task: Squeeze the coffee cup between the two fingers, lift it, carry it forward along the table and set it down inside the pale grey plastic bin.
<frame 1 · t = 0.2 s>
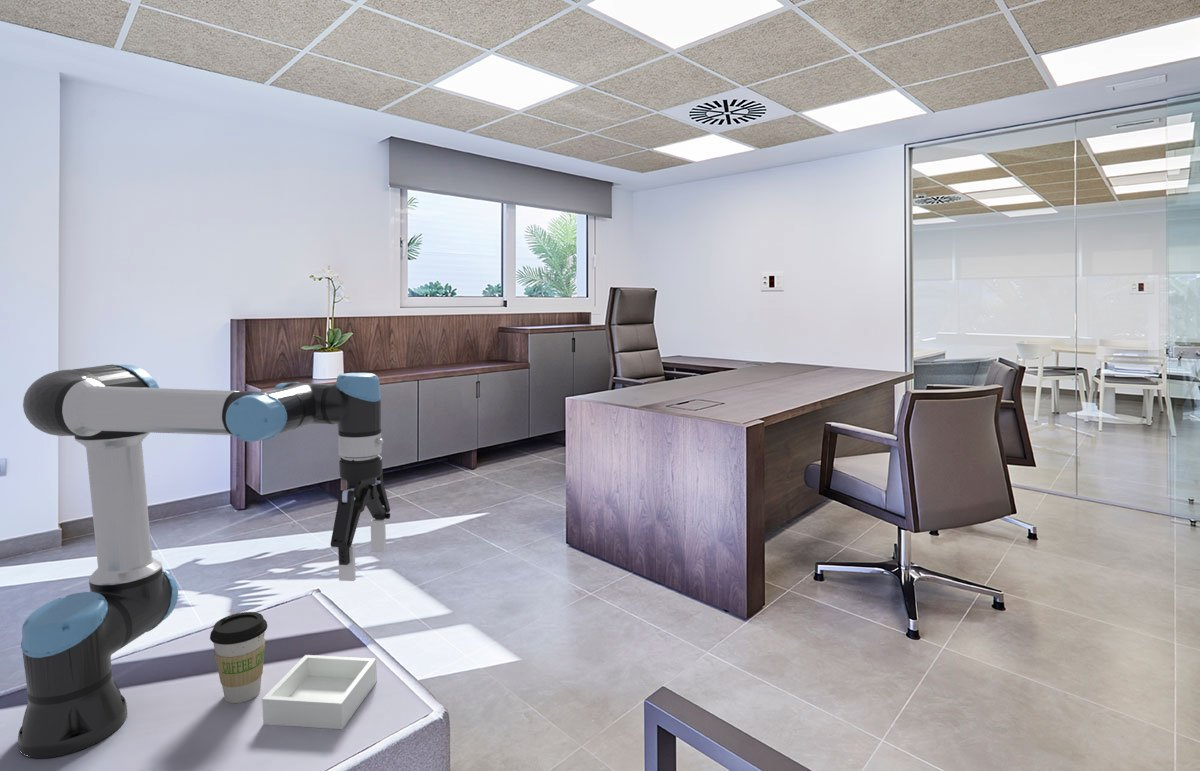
hand: (363, 565, 121), 28 cm above the table, fingers open, 13 cm apart
coffee cup: (242, 694, 126), on the table
bin: (323, 701, 124), on the table
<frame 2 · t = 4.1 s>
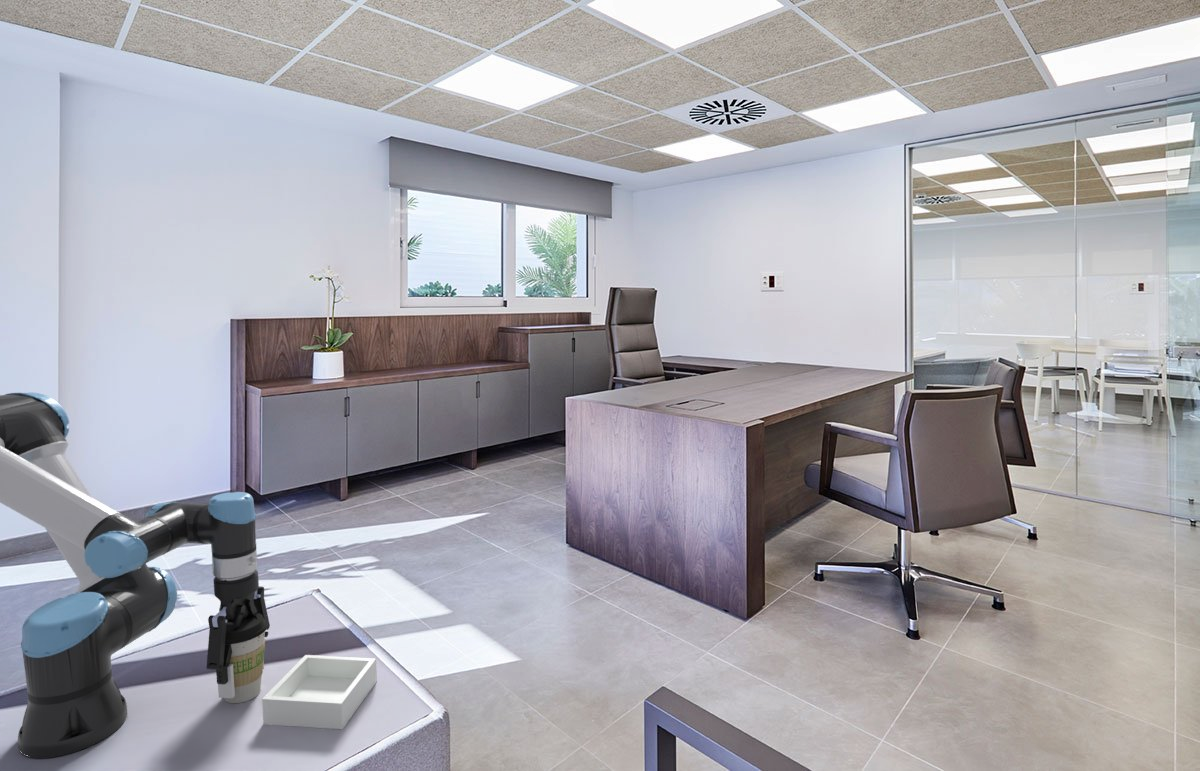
hand: (242, 682, 126), 2 cm above the table, fingers closed on coffee cup, 9 cm apart
coffee cup: (242, 694, 126), on the table, touching gripper
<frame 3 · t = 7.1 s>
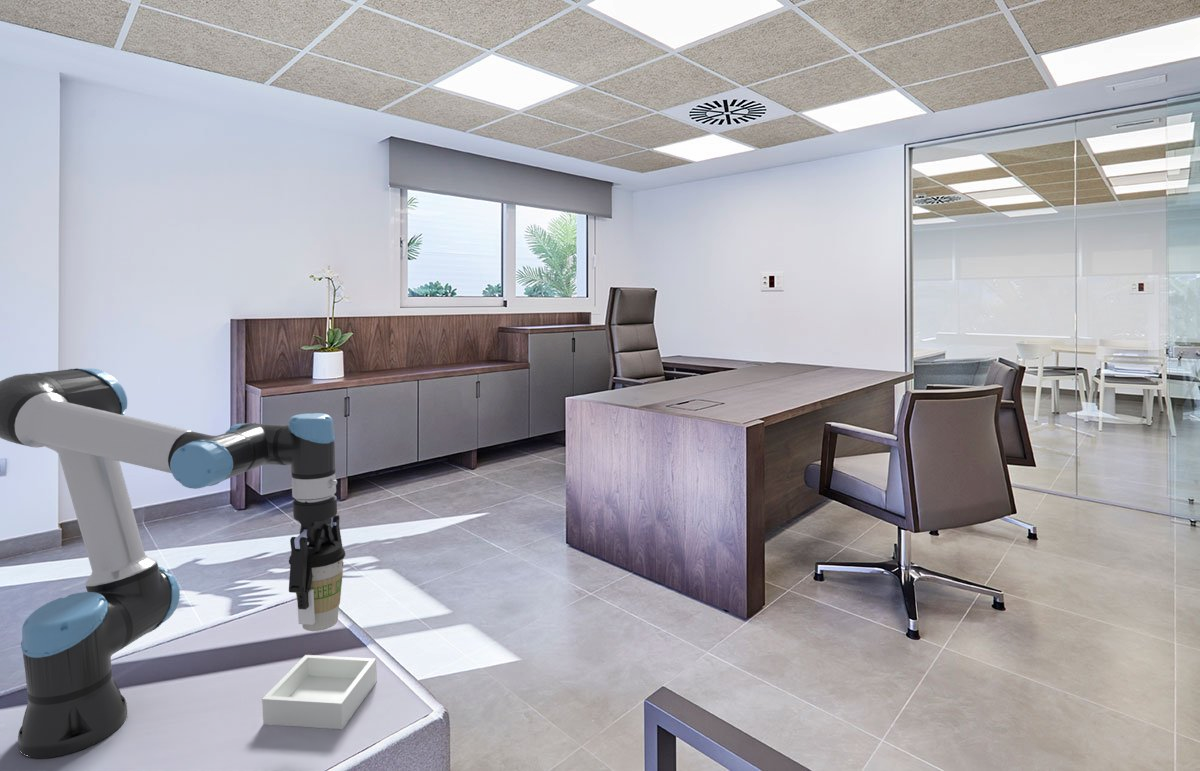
hand: (319, 611, 122), 19 cm above the table, fingers closed on coffee cup, 9 cm apart
coffee cup: (320, 624, 122), point 16 cm above the table, touching gripper
when the fingers open (5 cm above the table, at t = 10.3 s): coffee cup moves 2 cm, point 1 cm above the table.
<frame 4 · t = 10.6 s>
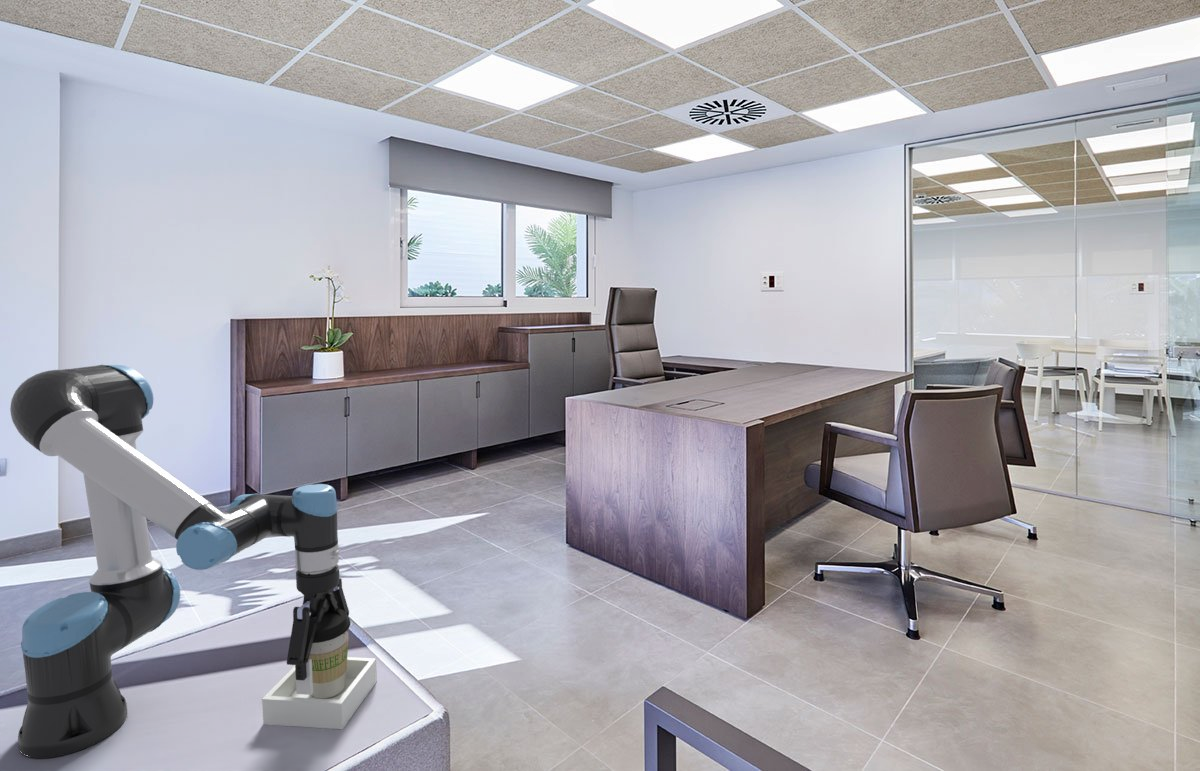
hand: (321, 674, 123), 6 cm above the table, fingers open, 12 cm apart
coffee cup: (328, 688, 126), point 1 cm above the table, touching gripper
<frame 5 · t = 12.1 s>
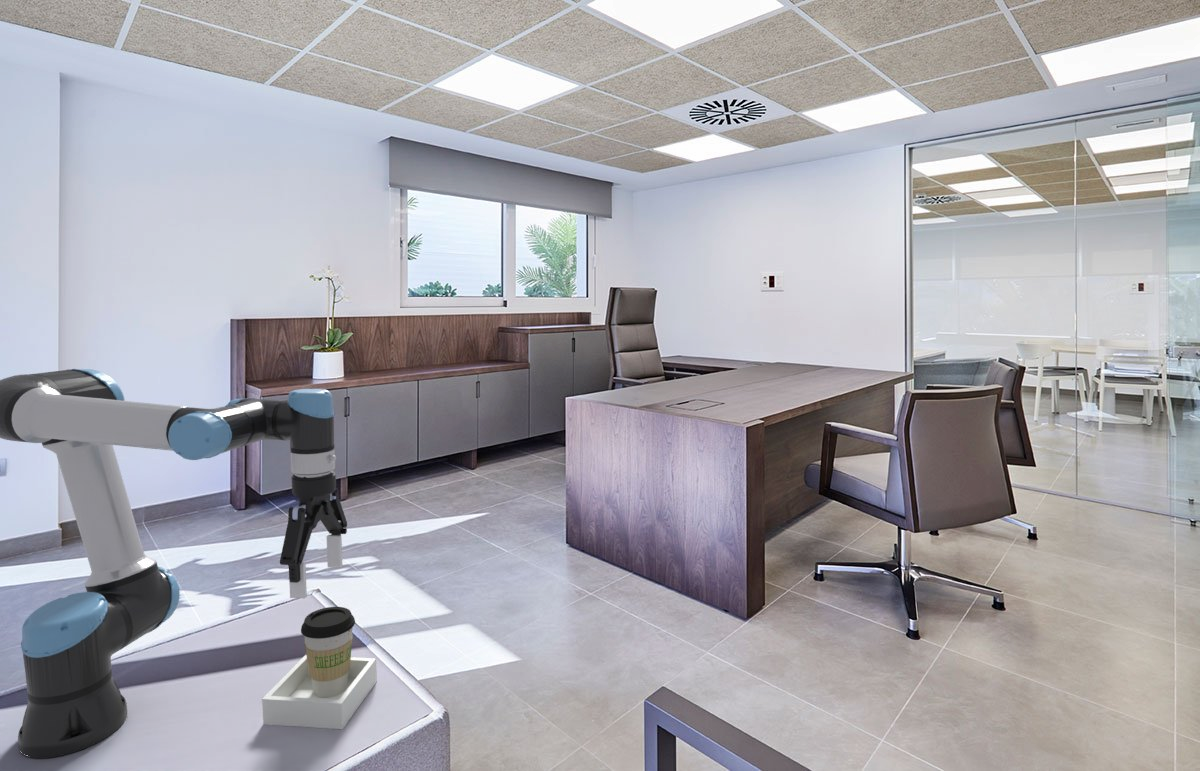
hand: (317, 581, 121), 25 cm above the table, fingers open, 13 cm apart
coffee cup: (330, 689, 127), point 1 cm above the table, touching bin
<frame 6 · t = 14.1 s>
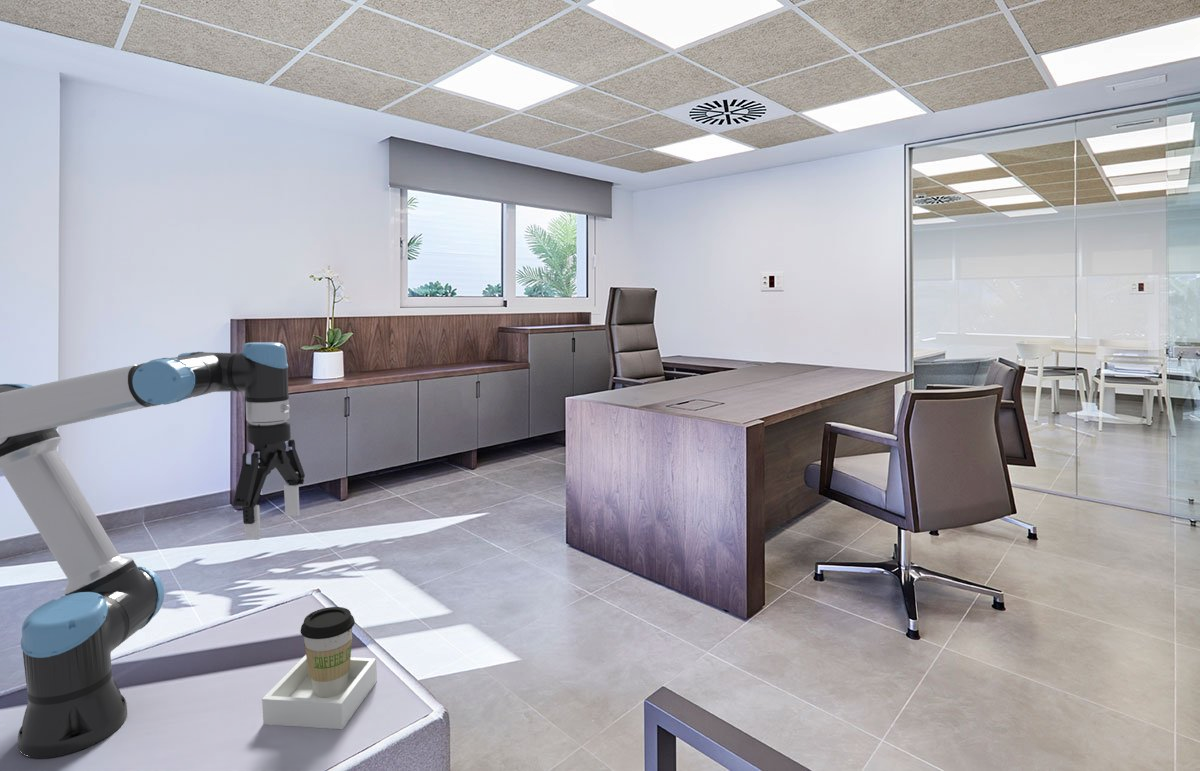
hand: (273, 526, 127), 33 cm above the table, fingers open, 13 cm apart
nothing on the table moved.
at the end: coffee cup inside the target area on the bin (2.8 cm from its centre), point 0.8 cm above the bin's base; coffee cup tilted 0°; coffee cup touching bin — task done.
